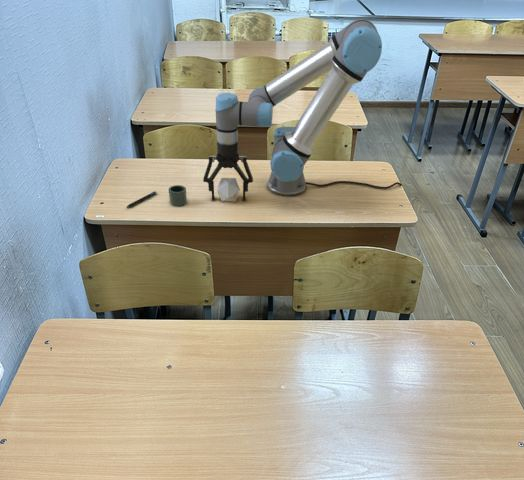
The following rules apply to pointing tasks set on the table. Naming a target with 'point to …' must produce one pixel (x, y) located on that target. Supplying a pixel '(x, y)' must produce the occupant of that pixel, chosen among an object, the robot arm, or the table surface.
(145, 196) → the pen
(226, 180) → the die
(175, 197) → the cup
